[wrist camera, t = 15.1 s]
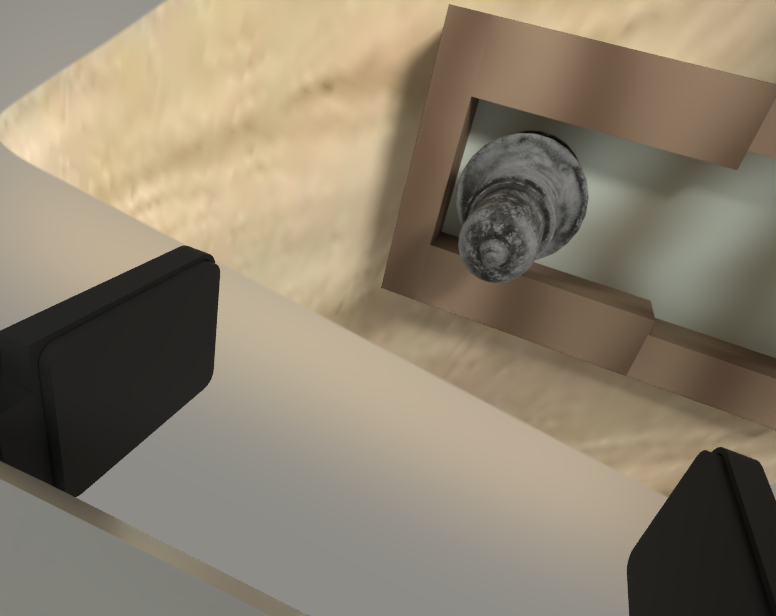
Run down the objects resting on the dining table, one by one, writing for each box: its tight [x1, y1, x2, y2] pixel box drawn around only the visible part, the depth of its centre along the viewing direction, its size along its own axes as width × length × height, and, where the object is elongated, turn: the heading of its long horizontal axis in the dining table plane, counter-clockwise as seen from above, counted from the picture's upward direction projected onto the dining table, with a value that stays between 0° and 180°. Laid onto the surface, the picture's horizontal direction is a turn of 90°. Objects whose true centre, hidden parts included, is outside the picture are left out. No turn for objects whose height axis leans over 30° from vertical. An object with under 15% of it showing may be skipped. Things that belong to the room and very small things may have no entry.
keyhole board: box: [381, 4, 776, 430], centre depth 26 cm, size 24×14×4 cm, turn 77°
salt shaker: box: [456, 131, 589, 283], centre depth 22 cm, size 6×6×12 cm
